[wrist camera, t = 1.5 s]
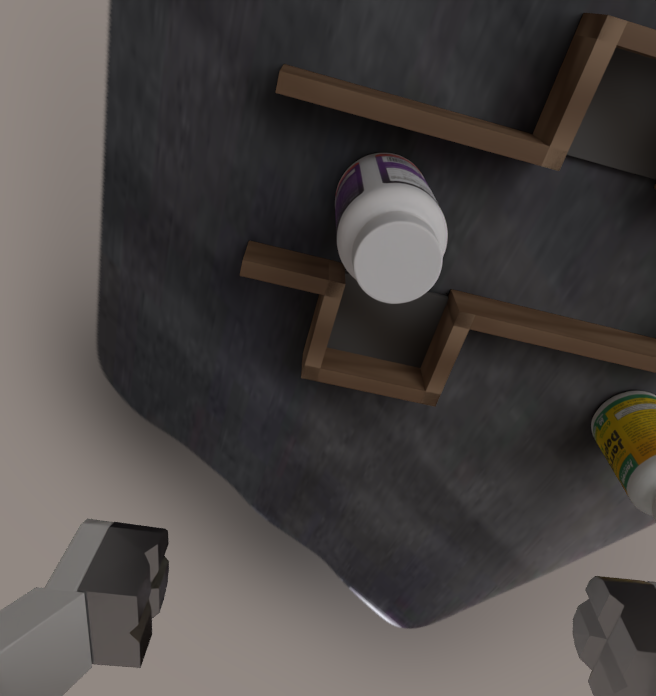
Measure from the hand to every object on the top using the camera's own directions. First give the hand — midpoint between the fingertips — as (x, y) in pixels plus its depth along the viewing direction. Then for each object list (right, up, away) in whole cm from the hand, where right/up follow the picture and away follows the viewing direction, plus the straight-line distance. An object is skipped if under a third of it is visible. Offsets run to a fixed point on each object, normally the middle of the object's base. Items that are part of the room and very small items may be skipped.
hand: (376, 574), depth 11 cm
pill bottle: (+2, +13, +23) cm, 27 cm away
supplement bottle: (+21, -1, +31) cm, 38 cm away
